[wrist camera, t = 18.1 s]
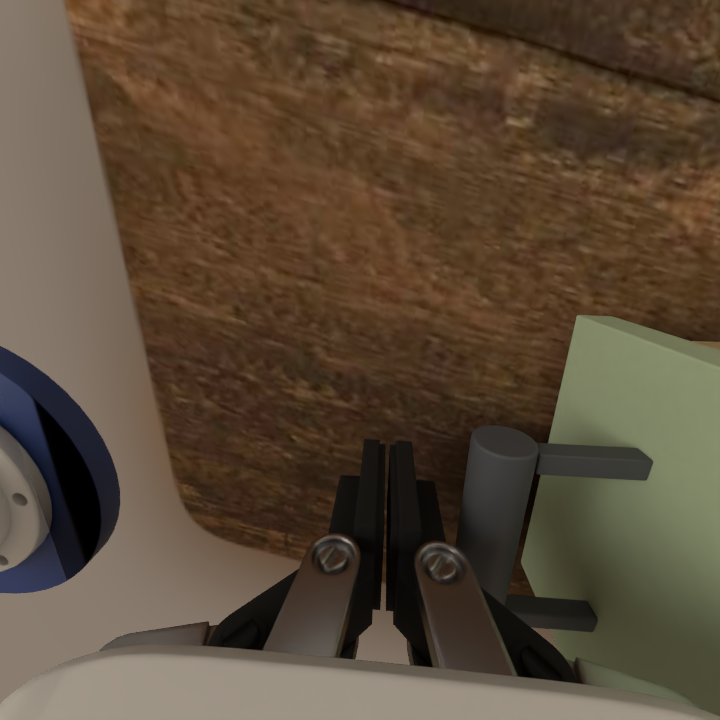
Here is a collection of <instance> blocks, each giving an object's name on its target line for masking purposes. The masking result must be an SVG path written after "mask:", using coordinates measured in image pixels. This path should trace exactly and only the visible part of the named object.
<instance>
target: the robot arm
mask: <svg viewBox="0 0 720 720" xmlns="http://www.w3.org/2000/svg"><path fill="white" fill-rule="evenodd" d="M379 442H380V440H370V439H365V441H364V449H363V457H362V465H361V474H360V476H346V475H341V476H340V480H339V485H338V490H337V494H336V499H335V504H334V509H333V514H332V519H331V523H330V528H329V533H328V534H325V535H323V536H321V537H318V538H317V539H316V540H315V541H313V542H312V543H311V545H310V546H309V548H308V550H307V552H306V554H305V556H304V559H303V561H302V563H301V565H300V568H299V569H298V570H296V571H295V572H294V573H292V574H290V575H289V576H287V577H286V578H284V579H283V580H281V581H280V582H278V583H277V584H275V585H274V586H272V587H271V588H269V589H268V590H266V591H265V592H263V593H262V594H260V595H259V596H257V597H256V598H254V599H253V600H251V601H250V602H248V603H247V604H246V605H244V606H242V607H241V608H239V609H238V610H236V611H235V612H234V613H232V614H230V615H229V616H228V617H227V618H225V619H224V620H223V621H222V622H221V623H220V624H219V625H214V626H209V622H201V623H195V624H188V625H182V626H175V627H169V628H162V629H156V630H149V631H143V632H136V633H130V634H127V635H123V636H121V637H117V638H116V639H114V640H113V641H111V642H110V643H108V644H106V645H105V646H104V647H103V648H102V649H101V650H100V651H99V652H96V653H92V654H89V655H85V656H82V657H79V658H76V659H73V660H70V661H68V662H65V663H63V664H60V665H58V666H56V667H53V668H51V669H49V670H47V671H45V672H43V673H41V674H40V675H38V676H36V677H35V678H33V679H31V680H30V681H28V682H26V683H25V684H24V685H22V686H21V687H20V688H19V689H17V690H16V691H15V692H13V693H12V694H11V695H10V696H8V697H7V698H6V699H5V700H4V701H3V702H2V703H1V704H0V720H720V716H718V715H715V714H712V713H710V712H707V711H705V710H704V709H703V708H702V707H701V706H699V705H698V704H697V703H695V702H694V701H693V700H691V699H690V698H689V697H687V696H686V695H684V694H682V693H680V692H678V691H676V690H674V689H672V688H669V687H666V686H663V685H660V684H657V683H654V682H651V681H648V680H645V679H642V678H639V677H636V676H633V675H630V674H627V673H624V672H621V671H617V670H614V669H611V668H608V667H605V666H602V665H599V664H596V663H593V662H590V661H587V660H584V659H581V658H578V657H576V659H575V662H574V661H571V660H568V659H565V658H564V656H563V655H562V654H561V653H560V652H559V651H558V650H557V649H556V648H555V647H554V646H553V645H552V644H550V643H549V642H548V641H547V640H545V639H544V638H543V637H542V636H541V635H539V634H538V633H537V632H536V631H534V630H533V629H532V628H531V627H529V626H528V625H527V624H526V623H525V622H523V621H522V620H521V619H520V618H518V617H517V616H516V615H515V614H514V613H512V612H511V611H510V610H509V609H507V608H506V607H505V606H504V605H502V604H501V603H500V602H499V601H498V600H496V599H495V598H494V597H493V596H491V595H490V594H489V593H488V592H486V591H485V590H484V589H483V588H482V587H480V586H479V583H478V581H477V579H476V576H475V574H474V571H473V569H472V567H471V564H470V562H469V560H468V559H467V557H466V555H465V554H464V553H463V552H462V551H461V550H460V549H459V548H457V547H455V546H454V545H452V544H450V543H447V542H446V540H445V535H444V530H443V524H442V519H441V514H440V509H439V504H438V499H437V493H436V488H435V484H434V481H424V480H416V476H415V468H414V459H413V451H412V443H411V442H405V441H396V445H390V455H389V475H388V494H387V539H386V611H393V624H394V625H395V626H396V627H397V629H399V631H400V632H401V633H402V634H403V635H404V637H405V638H406V639H407V651H408V656H409V662H410V665H403V664H393V663H383V662H372V661H363V660H355V658H356V653H357V648H358V641H359V635H360V634H361V633H362V632H364V631H365V630H366V629H367V628H368V627H369V626H370V625H371V624H372V610H373V609H375V610H380V602H381V582H382V561H383V541H384V502H385V444H379ZM51 521H52V503H51V497H50V494H49V490H48V487H47V484H46V482H45V480H44V478H43V476H42V474H41V472H40V470H39V468H38V466H37V465H36V463H35V462H34V460H33V459H32V458H31V456H30V455H29V453H28V452H27V451H26V449H25V448H24V447H23V446H22V445H21V444H20V443H19V442H18V441H17V440H16V439H15V438H14V437H13V436H12V435H11V434H10V433H9V432H8V431H7V430H6V429H4V428H3V427H2V426H1V425H0V572H2V571H5V570H7V569H10V568H12V567H15V566H17V565H18V564H19V563H21V562H22V561H23V560H25V559H26V558H27V557H28V556H29V555H31V554H32V553H33V552H34V551H35V550H36V549H37V548H38V547H39V546H40V545H41V544H42V543H43V542H44V540H45V538H46V536H47V535H48V533H49V531H50V526H51Z"/></svg>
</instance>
